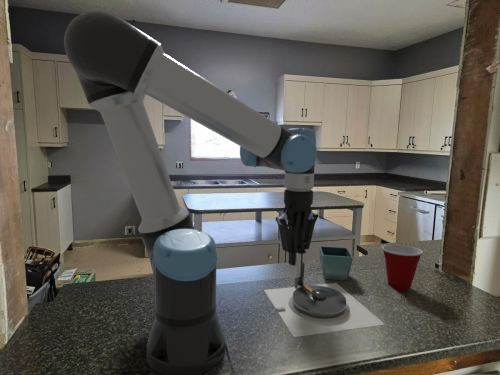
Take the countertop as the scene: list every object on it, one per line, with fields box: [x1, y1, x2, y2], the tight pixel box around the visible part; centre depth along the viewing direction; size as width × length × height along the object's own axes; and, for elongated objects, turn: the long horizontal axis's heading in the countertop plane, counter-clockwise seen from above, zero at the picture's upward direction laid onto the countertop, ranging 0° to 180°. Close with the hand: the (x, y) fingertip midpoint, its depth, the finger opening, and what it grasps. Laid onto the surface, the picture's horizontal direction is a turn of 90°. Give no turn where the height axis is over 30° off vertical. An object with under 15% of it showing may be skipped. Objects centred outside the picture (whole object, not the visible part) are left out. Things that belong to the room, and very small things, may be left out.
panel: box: [263, 282, 385, 338], centre depth 81 cm, size 22×22×2 cm
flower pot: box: [319, 245, 354, 281], centre depth 99 cm, size 9×9×9 cm
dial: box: [293, 261, 346, 319], centre depth 82 cm, size 17×13×8 cm
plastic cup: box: [381, 244, 424, 293], centre depth 94 cm, size 11×11×12 cm
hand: (294, 275), depth 87 cm, fingers closed
